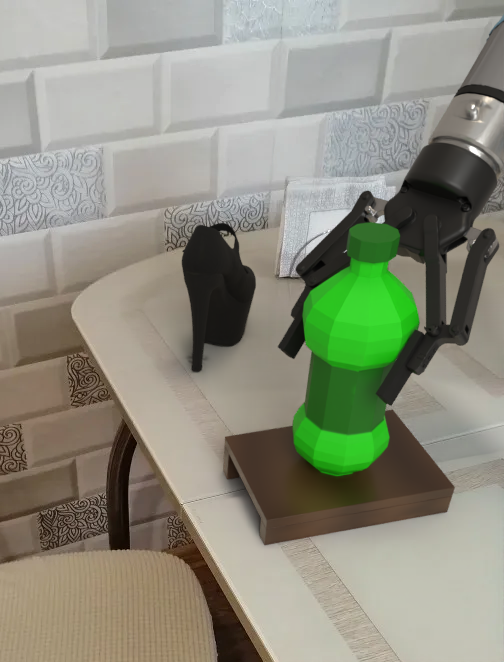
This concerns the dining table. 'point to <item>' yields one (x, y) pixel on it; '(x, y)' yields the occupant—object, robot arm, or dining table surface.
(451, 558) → the dining table surface
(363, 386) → the plastic bottle
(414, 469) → the wooden display riser
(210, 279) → the high-heeled shoe
